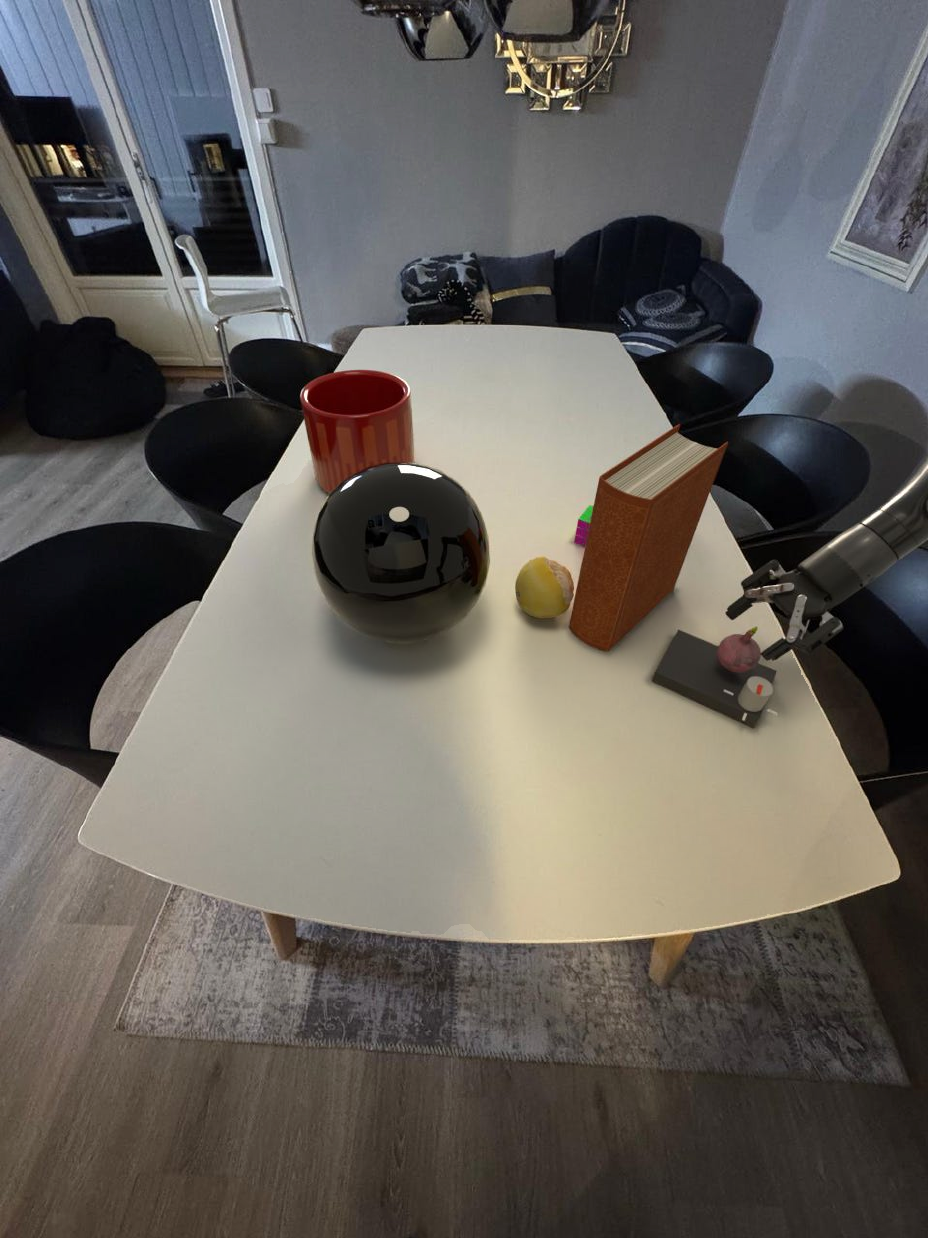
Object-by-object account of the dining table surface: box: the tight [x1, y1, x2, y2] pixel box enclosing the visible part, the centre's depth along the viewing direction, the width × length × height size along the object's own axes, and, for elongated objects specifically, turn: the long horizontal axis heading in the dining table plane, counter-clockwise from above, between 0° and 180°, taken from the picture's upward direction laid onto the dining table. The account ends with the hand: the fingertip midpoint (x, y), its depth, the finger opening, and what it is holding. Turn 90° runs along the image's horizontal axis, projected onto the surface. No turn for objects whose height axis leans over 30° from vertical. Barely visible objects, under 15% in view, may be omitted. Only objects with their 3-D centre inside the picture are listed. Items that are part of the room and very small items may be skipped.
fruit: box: [514, 556, 575, 619], centre depth 99 cm, size 10×11×10 cm
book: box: [568, 423, 729, 653], centre depth 92 cm, size 23×8×30 cm, turn 136°
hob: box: [651, 629, 778, 729], centre depth 89 cm, size 18×13×3 cm
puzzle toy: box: [573, 504, 594, 547], centre depth 115 cm, size 6×6×6 cm
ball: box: [311, 462, 491, 644], centre depth 91 cm, size 28×28×28 cm
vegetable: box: [717, 626, 762, 672], centre depth 86 cm, size 6×6×10 cm
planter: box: [299, 369, 416, 494], centre depth 126 cm, size 23×23×20 cm
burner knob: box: [738, 676, 774, 712], centre depth 84 cm, size 4×4×4 cm
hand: (745, 636), depth 84 cm, fingers open, 8 cm apart
